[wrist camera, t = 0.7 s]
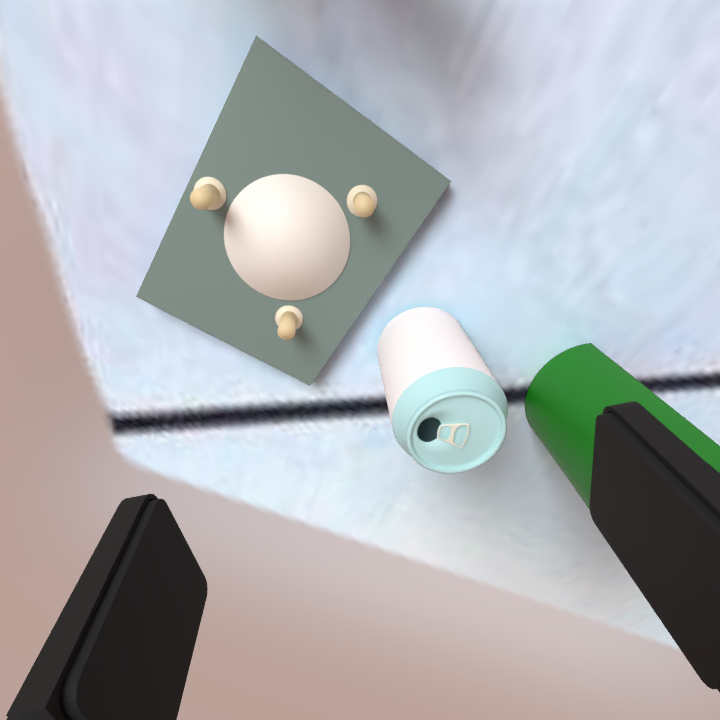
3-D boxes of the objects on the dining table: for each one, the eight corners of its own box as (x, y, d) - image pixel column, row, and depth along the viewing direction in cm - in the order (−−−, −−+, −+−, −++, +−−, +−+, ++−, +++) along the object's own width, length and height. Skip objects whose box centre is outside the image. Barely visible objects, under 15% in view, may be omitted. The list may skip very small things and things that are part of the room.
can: (399, 396, 39) (426, 499, 28) (360, 330, 36) (374, 418, 25) (476, 359, 38) (534, 452, 27) (442, 287, 35) (492, 361, 24)
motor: (646, 404, 41) (890, 621, 23) (560, 459, 43) (721, 693, 25) (594, 328, 37) (839, 518, 19) (502, 393, 39) (645, 615, 22)
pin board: (445, 178, 31) (461, 186, 27) (310, 376, 37) (309, 403, 34) (259, 40, 27) (249, 27, 23) (143, 289, 33) (121, 309, 30)
